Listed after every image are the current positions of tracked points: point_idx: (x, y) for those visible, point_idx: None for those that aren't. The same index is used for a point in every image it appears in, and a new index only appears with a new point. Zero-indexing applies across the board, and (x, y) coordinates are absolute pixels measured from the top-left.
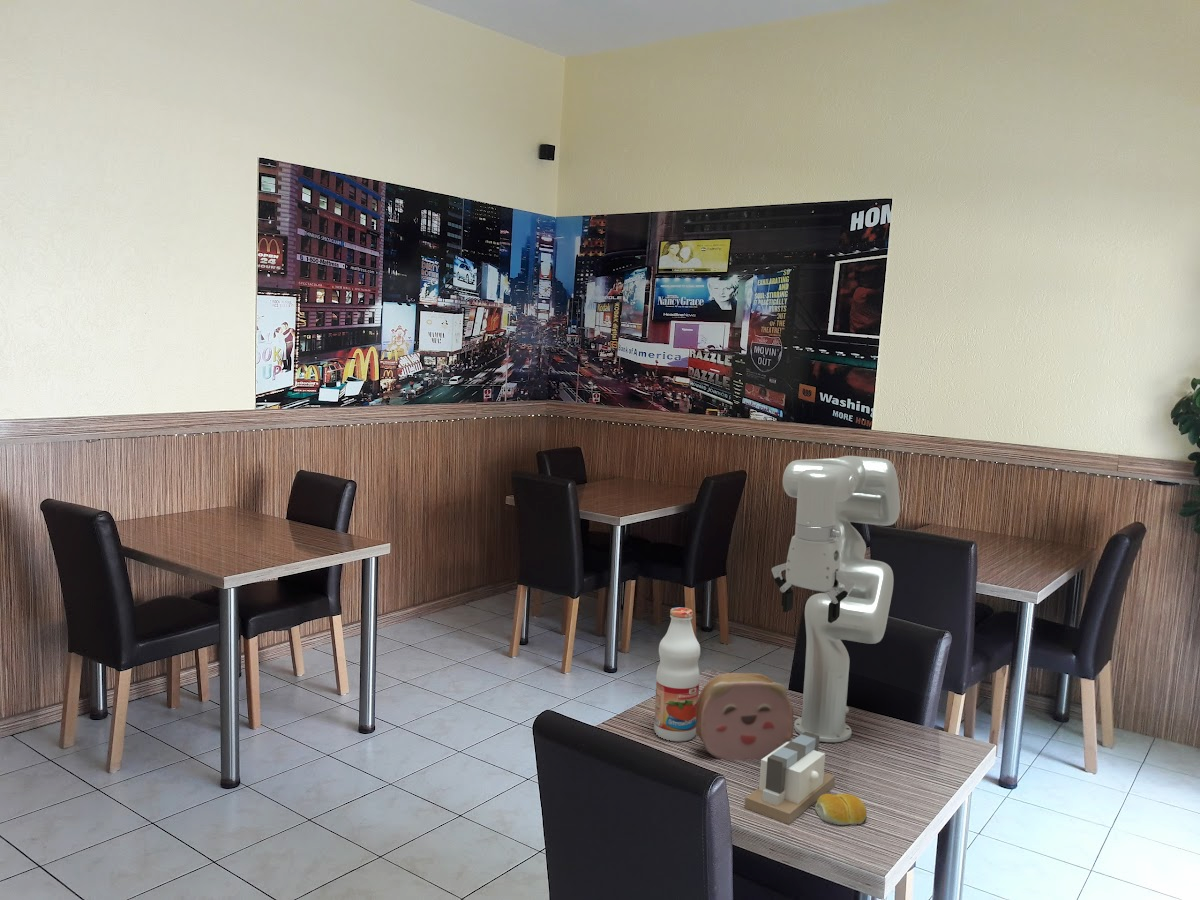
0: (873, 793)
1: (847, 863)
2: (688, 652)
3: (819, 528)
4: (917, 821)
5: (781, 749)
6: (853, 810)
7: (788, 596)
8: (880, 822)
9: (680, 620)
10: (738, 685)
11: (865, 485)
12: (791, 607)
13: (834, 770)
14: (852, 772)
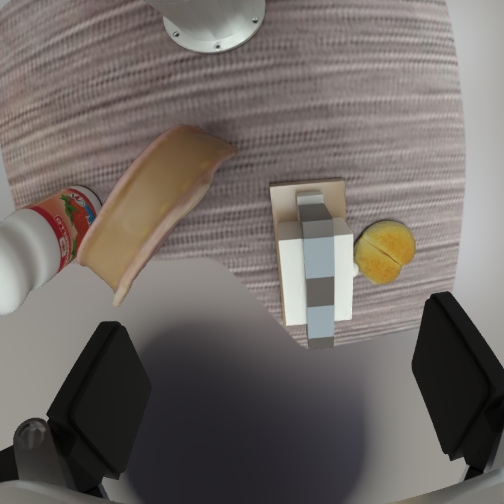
0: (392, 157)
1: (417, 328)
2: (19, 295)
3: None
4: (456, 193)
5: (310, 316)
6: (406, 263)
7: (118, 447)
8: (425, 229)
9: None
10: (138, 272)
11: None
12: (124, 344)
13: (314, 126)
14: (338, 111)
